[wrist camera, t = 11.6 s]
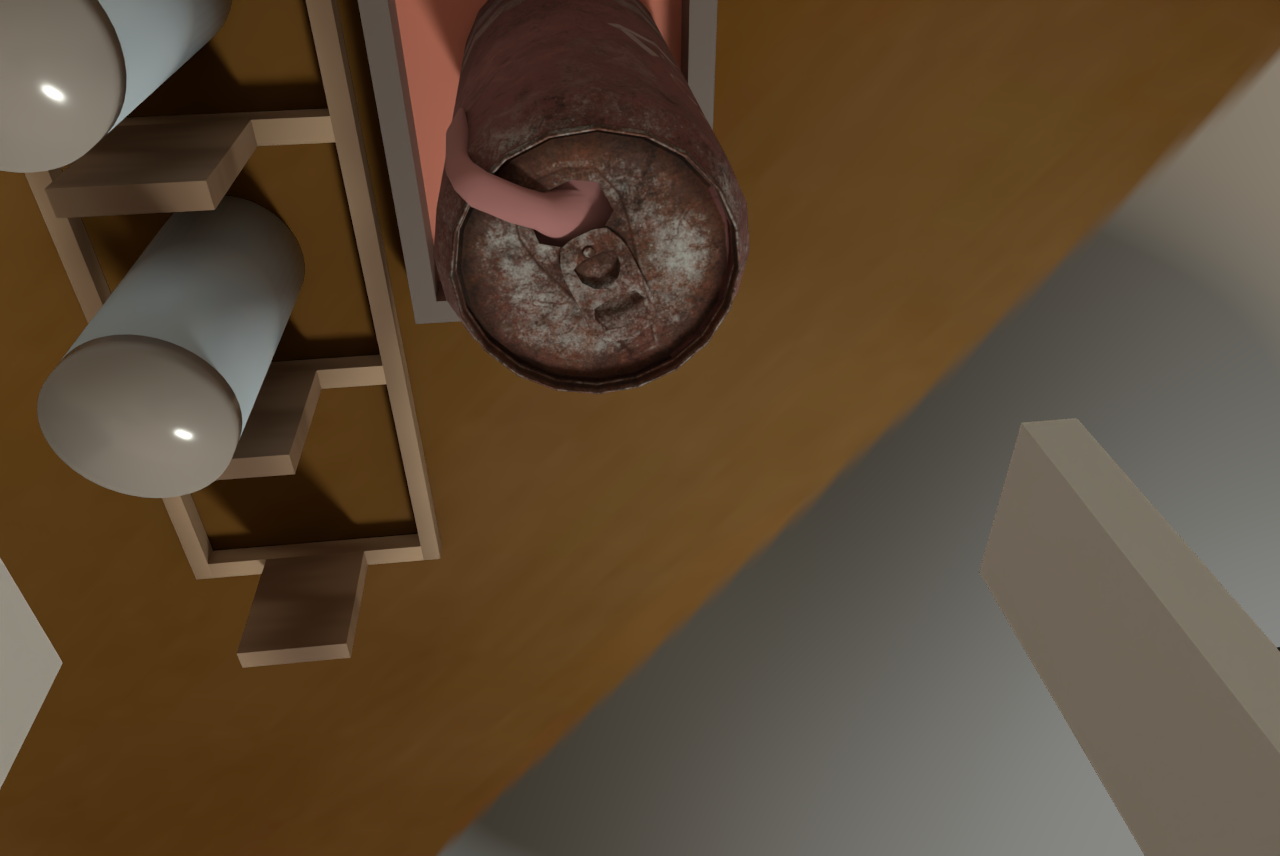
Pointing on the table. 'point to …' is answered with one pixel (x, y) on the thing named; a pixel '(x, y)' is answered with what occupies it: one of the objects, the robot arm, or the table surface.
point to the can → (584, 198)
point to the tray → (425, 99)
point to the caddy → (282, 413)
